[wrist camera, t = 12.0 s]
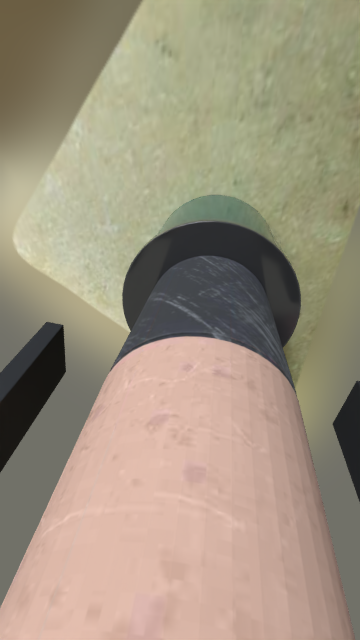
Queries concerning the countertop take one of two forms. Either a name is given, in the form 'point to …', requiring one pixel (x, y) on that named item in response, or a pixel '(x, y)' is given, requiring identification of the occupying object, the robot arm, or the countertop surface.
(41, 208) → the countertop surface
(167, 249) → the jar
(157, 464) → the travel mug
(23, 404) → the robot arm
